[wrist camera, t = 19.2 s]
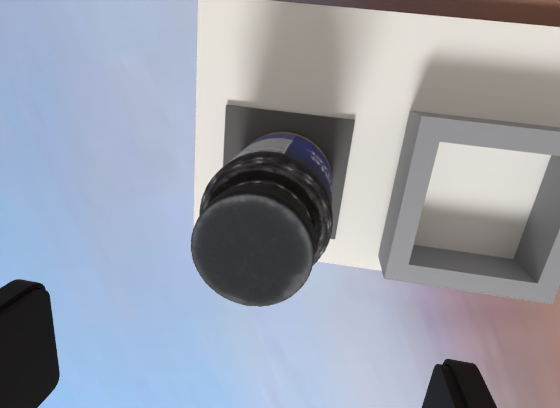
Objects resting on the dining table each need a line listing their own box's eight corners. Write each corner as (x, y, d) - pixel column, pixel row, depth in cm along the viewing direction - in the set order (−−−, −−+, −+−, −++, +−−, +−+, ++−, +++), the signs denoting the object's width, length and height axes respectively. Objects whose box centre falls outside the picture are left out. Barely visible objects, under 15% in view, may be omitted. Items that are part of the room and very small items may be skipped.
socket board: (625, 37, 20) (697, 28, 16) (528, 284, 26) (564, 322, 22) (204, -3, 22) (178, -19, 18) (198, 235, 28) (177, 262, 24)
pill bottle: (340, 210, 24) (349, 313, 14) (252, 227, 25) (200, 333, 15) (320, 118, 22) (313, 157, 12) (226, 140, 24) (147, 194, 13)
